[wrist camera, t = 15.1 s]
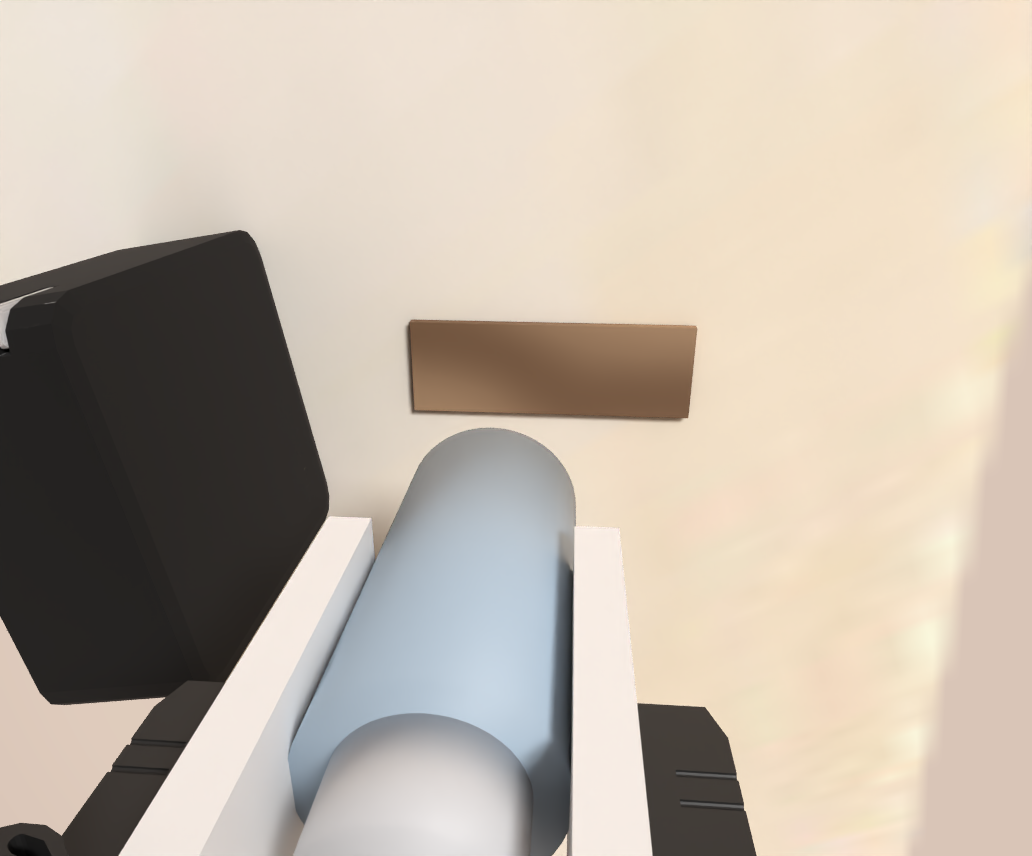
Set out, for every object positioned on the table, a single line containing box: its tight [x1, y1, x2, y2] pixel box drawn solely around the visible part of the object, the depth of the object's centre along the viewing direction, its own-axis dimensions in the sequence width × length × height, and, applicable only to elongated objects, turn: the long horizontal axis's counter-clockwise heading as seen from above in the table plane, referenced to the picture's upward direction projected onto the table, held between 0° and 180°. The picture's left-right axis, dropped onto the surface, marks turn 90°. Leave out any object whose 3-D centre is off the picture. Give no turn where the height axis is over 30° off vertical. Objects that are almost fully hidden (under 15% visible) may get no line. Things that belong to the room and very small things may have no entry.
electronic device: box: [0, 230, 329, 705], centre depth 21 cm, size 4×10×10 cm, turn 9°
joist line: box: [410, 320, 697, 418], centre depth 24 cm, size 3×20×1 cm, turn 90°
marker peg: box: [288, 428, 576, 856], centre depth 12 cm, size 4×4×9 cm
